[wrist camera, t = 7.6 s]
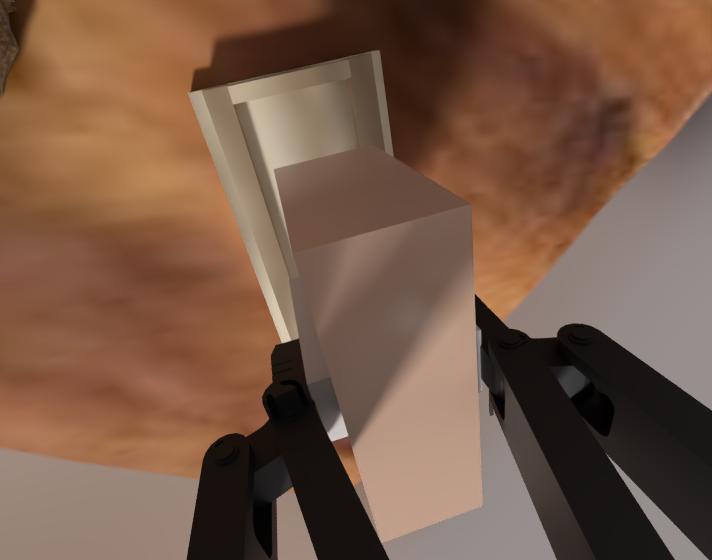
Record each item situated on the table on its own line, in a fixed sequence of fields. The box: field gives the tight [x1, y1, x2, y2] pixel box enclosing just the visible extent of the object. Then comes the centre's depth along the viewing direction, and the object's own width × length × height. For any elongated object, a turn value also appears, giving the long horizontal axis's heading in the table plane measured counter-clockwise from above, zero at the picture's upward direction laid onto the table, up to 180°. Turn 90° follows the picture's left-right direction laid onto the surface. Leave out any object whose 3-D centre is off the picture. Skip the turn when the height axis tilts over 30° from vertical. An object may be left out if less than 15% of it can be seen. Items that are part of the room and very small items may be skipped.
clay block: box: [274, 144, 482, 543], centre depth 15 cm, size 12×4×8 cm, turn 11°
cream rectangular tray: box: [188, 50, 394, 343], centre depth 24 cm, size 10×17×2 cm, turn 11°
